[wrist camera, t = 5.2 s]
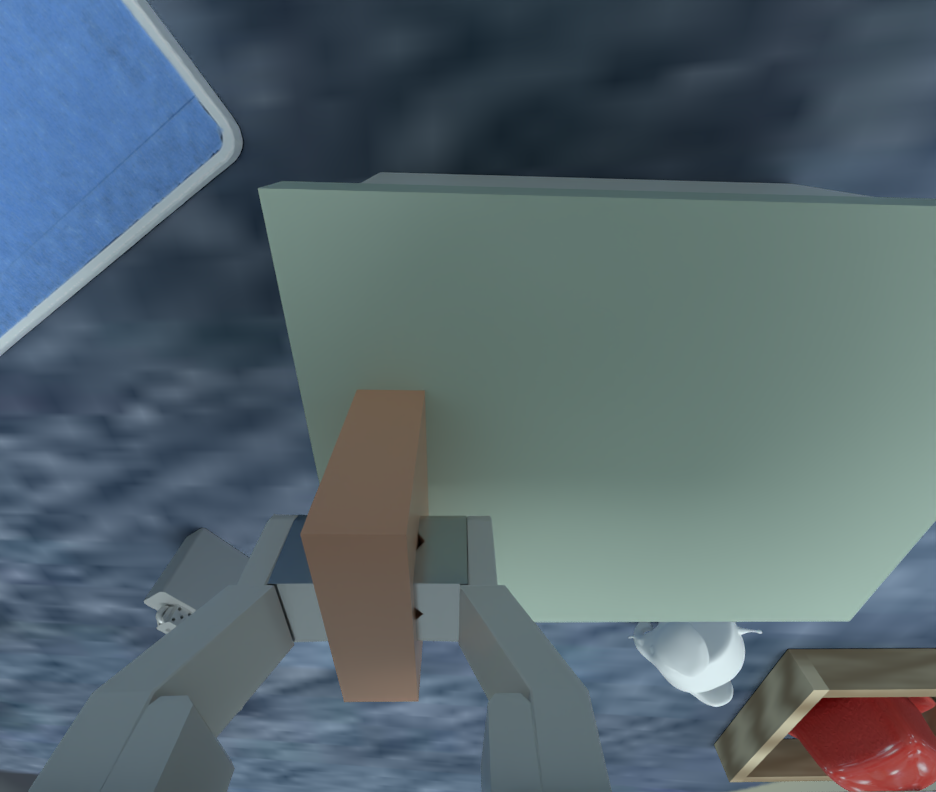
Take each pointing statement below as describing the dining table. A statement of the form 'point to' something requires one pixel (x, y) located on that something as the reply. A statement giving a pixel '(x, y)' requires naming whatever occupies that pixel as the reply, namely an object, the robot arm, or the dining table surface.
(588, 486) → the lid
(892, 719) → the butter dish
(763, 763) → the wooden frame
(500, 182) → the parts tub
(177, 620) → the lighter
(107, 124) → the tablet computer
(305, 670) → the dining table surface
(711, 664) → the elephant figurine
